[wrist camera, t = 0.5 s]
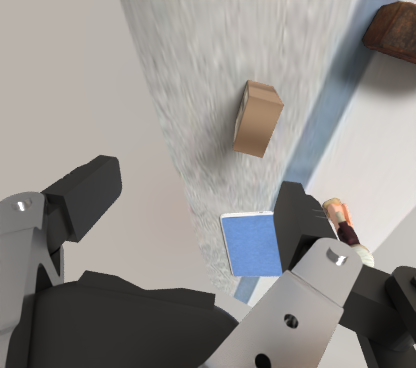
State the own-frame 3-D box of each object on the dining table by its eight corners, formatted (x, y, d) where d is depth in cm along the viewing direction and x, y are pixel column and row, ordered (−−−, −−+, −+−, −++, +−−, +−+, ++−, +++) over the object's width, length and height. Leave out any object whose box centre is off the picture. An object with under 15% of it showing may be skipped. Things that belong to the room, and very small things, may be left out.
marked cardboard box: (247, 79, 30) (248, 95, 22) (272, 86, 30) (283, 105, 22) (235, 122, 33) (231, 149, 25) (257, 128, 33) (262, 157, 25)
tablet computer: (219, 212, 44) (218, 216, 43) (285, 208, 41) (286, 212, 40) (232, 272, 54) (232, 277, 53) (286, 272, 51) (286, 277, 50)
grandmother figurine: (352, 215, 40) (391, 279, 29) (330, 224, 41) (360, 287, 31) (335, 186, 37) (371, 244, 26) (312, 196, 38) (338, 255, 28)
